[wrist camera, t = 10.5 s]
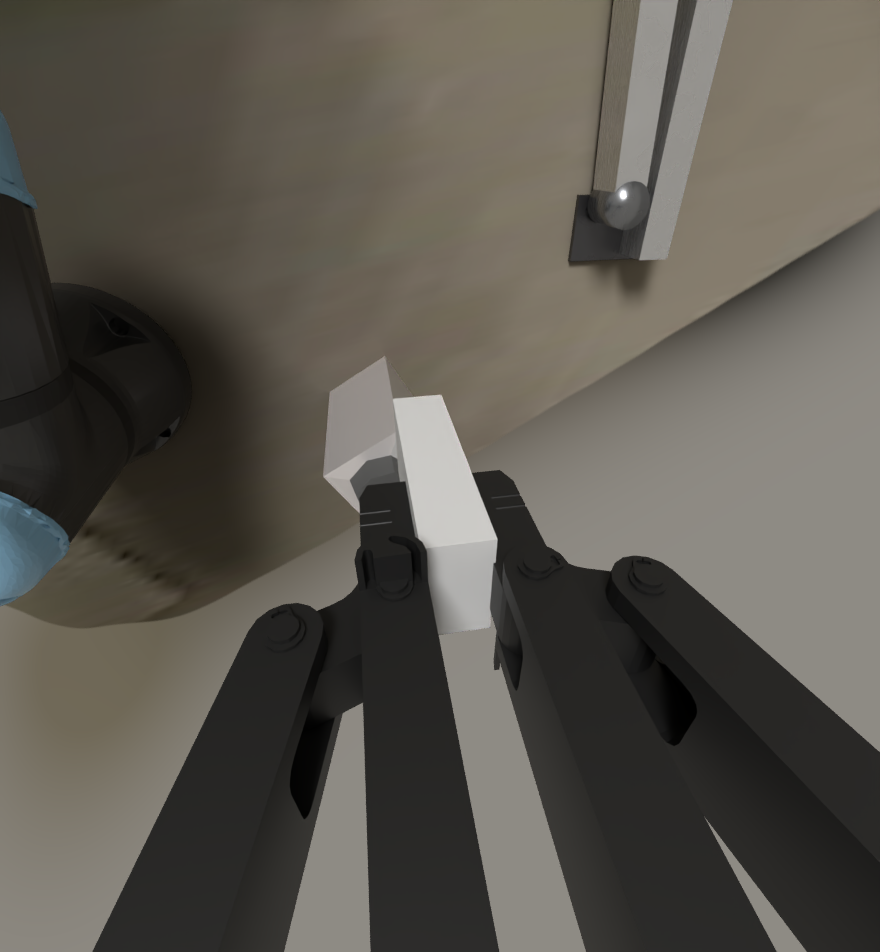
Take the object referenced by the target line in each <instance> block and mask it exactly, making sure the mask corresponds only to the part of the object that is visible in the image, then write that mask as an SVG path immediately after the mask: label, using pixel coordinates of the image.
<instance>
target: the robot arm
mask: <svg viewBox="0 0 880 952" xmlns="http://www.w3.org/2000/svg"><path fill="white" fill-rule="evenodd" d="M33 208H35V209H37V204H36V200H35V199H34V197H33V196H32V195H31V194H30V193H29V192H28V191H27V187H26V184H25V180H24V177H23V174H22V170H21V167H20V163H19V160H18V156H17V153H16V150H15V146H14V143H13V139H12V136H11V133H10V129H9V126H8V124H7V121H6V119H5V117H4V115H3V114H2V112H1V110H0V606H3V605H5V604H8V603H10V602H12V601H14V600H16V599H17V598H18V597H20V596H23V595H24V594H25V593H27V592H28V591H30V590H31V589H32V588H33V587H35V586H36V585H37V584H38V582H39V581H40V580H41V579H42V578H43V577H44V576H45V575H46V574H47V572H48V571H49V570H50V569H51V568H52V567H53V566H54V565H55V564H56V563H57V562H58V561H60V560H61V559H62V558H63V557H64V556H65V555H66V553H67V551H68V550H69V547H68V546H69V545H70V543H71V541H72V540H73V538H74V537H75V535H76V534H77V533H78V531H79V530H80V528H81V527H82V526H83V524H84V523H85V521H86V520H87V519H88V517H89V516H90V514H91V513H92V511H93V510H94V509H95V507H96V506H97V504H98V503H99V502H100V500H101V499H102V497H103V496H104V495H105V493H106V492H107V490H108V489H109V488H110V486H111V485H112V483H113V482H114V480H115V479H116V478H117V476H118V475H119V473H120V472H121V470H122V469H123V468H124V466H125V465H127V464H129V463H131V462H133V461H135V460H137V459H139V458H141V457H143V456H145V455H147V454H149V453H151V452H153V451H155V450H157V449H158V448H160V447H161V446H163V445H164V444H165V443H166V442H168V441H169V440H170V439H171V438H172V437H173V435H174V434H175V433H176V432H177V430H178V429H179V427H180V425H181V424H182V422H183V421H184V419H185V417H186V415H187V413H188V410H189V407H190V403H191V393H192V391H191V381H190V376H189V372H188V369H187V366H186V364H185V362H184V360H183V357H182V356H181V354H180V352H179V350H178V349H177V347H176V346H175V344H174V343H173V342H172V340H171V339H170V338H169V336H168V335H167V334H166V333H165V332H164V331H163V330H162V329H161V328H160V327H159V326H158V325H157V324H156V323H155V322H154V321H153V320H152V319H150V318H149V317H148V316H147V315H145V314H144V313H143V312H141V311H140V310H138V309H137V308H135V307H134V306H132V305H130V304H129V303H127V302H125V301H123V300H121V299H119V298H117V297H115V296H113V295H111V294H108V293H106V292H103V291H100V290H97V289H94V288H90V287H86V286H81V285H76V284H67V283H51V282H50V277H49V273H48V269H47V265H46V260H45V256H44V252H43V248H42V243H41V239H40V235H39V231H38V226H37V222H36V218H35V213H34V209H33ZM393 408H394V421H395V433H396V446H397V459H398V472H399V478H400V482H394V483H384V484H375V485H367V486H366V488H365V490H364V491H363V493H362V495H361V496H360V498H359V505H360V532H361V533H360V535H361V546H360V547H359V549H358V550H357V553H356V557H355V565H356V572H357V578H358V584H357V586H356V587H355V589H354V590H353V591H352V592H351V593H350V594H349V595H347V596H346V597H345V598H344V599H342V600H340V601H338V602H337V603H335V604H333V605H330V606H328V607H325V608H323V609H321V610H318V611H316V610H314V609H313V608H312V607H311V606H308V605H304V604H299V603H293V604H285V605H281V606H279V607H276V608H273V609H271V610H269V611H268V612H266V613H265V614H264V615H262V616H261V617H260V618H258V619H257V620H256V621H255V623H254V624H253V626H252V627H251V629H250V630H249V631H248V633H247V635H246V637H245V639H244V641H243V643H242V645H241V648H240V650H239V652H238V654H237V656H236V658H235V660H234V662H233V664H232V666H231V668H230V670H229V672H228V674H227V676H226V678H225V680H224V682H223V685H222V687H221V689H220V691H219V693H218V695H217V697H216V699H215V701H214V703H213V705H212V707H211V709H210V711H209V713H208V715H207V717H206V719H205V722H204V724H203V726H202V728H201V730H200V732H199V734H198V736H197V738H196V740H195V742H194V744H193V746H192V748H191V750H190V753H189V754H188V757H187V759H186V761H185V763H184V765H183V767H182V769H181V771H180V773H179V775H178V777H177V779H176V781H175V783H174V785H173V787H172V789H171V791H170V794H169V795H168V798H167V800H166V802H165V804H164V806H163V808H162V810H161V812H160V814H159V816H158V818H157V820H156V822H155V824H154V826H153V828H152V830H151V833H150V835H149V837H148V839H147V841H146V843H145V845H144V847H143V849H142V851H141V853H140V855H139V857H138V859H137V861H136V863H135V865H134V867H133V870H132V872H131V874H130V876H129V878H128V880H127V882H126V884H125V886H124V888H123V890H122V892H121V894H120V896H119V898H118V900H117V902H116V905H115V906H114V908H113V911H112V913H111V915H110V917H109V919H108V921H107V923H106V925H105V927H104V929H103V931H102V933H101V935H100V937H99V940H98V941H97V943H96V945H95V948H94V950H93V952H284V949H285V945H286V941H287V937H288V933H289V929H290V924H291V921H292V917H293V912H294V909H295V904H296V900H297V896H298V892H299V888H300V884H301V880H302V876H303V872H304V868H305V864H306V860H307V856H308V852H309V848H310V844H311V840H312V835H313V831H314V827H315V823H316V819H317V815H318V811H319V807H320V803H321V799H322V795H323V791H324V786H325V783H326V779H327V774H328V771H329V766H330V763H331V758H332V754H333V750H334V746H335V742H336V738H337V734H338V730H339V726H340V722H341V718H342V714H343V713H344V712H345V711H347V710H349V709H351V708H353V707H355V706H357V705H359V704H361V703H363V712H364V713H363V714H364V746H365V780H366V813H367V845H368V878H369V912H370V944H371V952H499V948H498V943H497V937H496V932H495V927H494V922H493V917H492V911H491V907H490V901H489V896H488V891H487V886H486V880H485V875H484V870H483V865H482V860H481V855H480V849H479V844H478V839H477V834H476V828H475V823H474V818H473V813H472V808H471V803H470V797H469V792H468V786H467V781H466V776H465V772H464V766H463V760H462V755H461V750H460V745H459V740H458V734H457V729H456V724H455V719H454V714H453V708H452V703H451V698H450V693H449V688H448V682H447V677H446V672H445V667H444V662H443V656H442V651H441V646H440V641H439V635H443V634H450V633H456V632H463V631H470V630H477V629H483V628H490V622H491V614H492V617H493V621H494V623H495V627H496V630H497V634H496V643H495V653H494V670H498V669H499V667H500V663H501V667H502V670H503V674H504V677H505V680H506V684H507V687H508V690H509V694H510V697H511V700H512V704H513V707H514V710H515V714H516V717H517V721H518V724H519V727H520V731H521V734H522V737H523V740H524V744H525V748H526V751H527V754H528V757H529V761H530V764H531V767H532V771H533V774H534V778H535V781H536V784H537V788H538V791H539V795H540V798H541V801H542V805H543V808H544V811H545V815H546V818H547V822H548V825H549V828H550V832H551V835H552V838H553V841H554V845H555V848H556V852H557V855H558V859H559V862H560V865H561V868H562V872H563V875H564V879H565V882H566V885H567V888H568V892H569V896H570V899H571V902H572V906H573V909H574V912H575V916H576V919H577V922H578V925H579V929H580V932H581V936H582V939H583V943H584V946H585V949H586V952H776V950H775V948H774V946H773V944H772V942H771V941H770V938H769V937H768V935H767V933H766V931H765V929H764V928H763V925H762V924H761V922H760V920H759V918H758V916H757V914H756V912H755V911H754V909H753V907H752V905H751V903H750V901H749V899H748V897H747V896H746V894H745V892H744V890H743V888H742V886H741V884H740V883H739V881H738V879H737V877H736V875H735V873H734V871H733V870H732V868H731V866H730V864H729V862H728V860H727V858H726V856H725V855H724V853H723V851H722V849H721V847H720V845H719V844H718V842H717V840H716V838H715V836H714V834H713V832H712V830H711V829H710V827H709V825H708V823H707V821H706V819H707V820H708V822H709V823H710V824H711V826H712V827H713V828H714V830H715V831H716V832H717V834H718V835H719V836H720V838H721V839H722V840H723V842H724V843H725V844H726V846H727V847H728V848H729V850H730V851H731V852H732V853H733V855H734V856H735V857H736V859H737V860H738V861H739V863H740V864H741V865H742V867H743V868H744V869H745V871H746V872H747V873H748V875H749V876H750V877H751V878H752V880H753V881H754V882H755V884H756V885H757V886H758V888H759V889H760V890H761V891H762V893H763V894H764V896H765V897H766V898H767V900H768V901H769V902H770V904H771V905H772V906H773V907H774V909H775V910H776V911H777V913H778V914H779V915H780V917H781V918H782V919H783V920H784V922H785V923H786V925H787V926H788V927H789V928H790V930H791V931H792V933H793V934H794V935H795V936H796V938H797V939H798V940H799V942H800V943H801V944H802V946H803V947H804V948H805V950H806V951H807V952H880V752H879V751H878V750H877V749H875V748H874V747H873V746H872V745H871V744H870V743H869V742H867V741H866V740H865V739H864V738H863V737H862V736H861V735H860V734H858V733H857V732H856V731H855V730H854V729H853V728H852V727H850V726H849V725H848V724H847V723H846V722H845V721H844V720H842V719H841V718H840V717H839V716H838V715H837V714H835V712H833V711H832V710H831V709H830V708H829V707H828V706H826V705H825V704H824V703H823V702H822V701H821V700H820V699H819V698H818V697H816V696H815V695H814V694H813V693H812V692H810V690H808V689H807V688H806V687H805V686H804V685H803V684H802V683H800V682H799V681H798V680H797V679H796V678H795V677H794V676H792V675H791V674H790V673H789V672H788V671H787V670H786V669H785V668H783V667H782V666H781V665H780V664H779V663H778V662H777V661H775V660H774V659H773V658H772V657H771V656H770V655H769V654H768V653H766V652H765V651H764V650H763V649H762V648H761V647H760V646H759V645H757V644H756V643H755V642H754V641H753V640H752V639H751V638H749V637H748V636H747V635H746V634H745V633H744V632H742V631H741V630H740V629H739V628H738V627H737V626H736V625H735V624H733V623H732V622H731V621H730V620H729V619H728V618H727V617H726V616H724V615H723V614H722V613H721V612H720V611H719V610H718V609H717V608H715V607H714V606H713V605H712V604H711V603H710V602H709V601H707V600H706V599H705V598H704V597H703V596H702V595H701V594H699V593H698V592H697V591H696V590H695V589H694V588H693V587H692V586H690V585H689V584H688V583H687V582H686V581H685V580H683V579H682V578H681V577H680V576H679V575H678V574H677V573H676V572H674V571H673V570H672V569H671V568H669V567H668V566H666V565H665V564H663V563H661V562H659V561H657V560H654V559H651V558H649V557H641V556H629V557H623V558H622V559H620V560H619V561H617V562H616V563H615V564H614V566H613V568H612V570H611V571H603V570H595V569H587V568H581V567H577V566H573V565H571V564H568V562H567V561H566V560H565V559H564V557H563V556H562V555H561V554H560V553H558V552H556V551H555V550H553V549H552V548H549V547H547V546H546V544H545V543H544V540H543V538H542V537H541V535H540V533H539V531H538V529H537V527H536V525H535V523H534V521H533V519H532V517H531V515H530V513H529V511H528V509H527V507H525V503H524V501H523V499H522V497H521V496H520V493H519V491H518V490H517V487H516V485H515V484H514V481H513V480H512V479H510V478H509V477H508V476H507V475H505V474H504V473H503V472H502V471H500V470H497V471H487V472H477V473H471V470H470V468H469V465H468V463H467V460H466V457H465V455H464V452H463V450H462V447H461V444H460V442H459V439H458V437H457V434H456V432H455V429H454V426H453V424H452V421H451V419H450V416H449V414H448V411H447V409H446V406H445V403H444V401H443V398H442V396H441V395H433V396H421V397H409V398H396V399H393ZM705 818H706V819H705Z"/></svg>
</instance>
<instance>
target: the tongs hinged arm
mask: <svg viewBox="0 0 880 952" xmlns="http://www.w3.org/2000/svg"><path fill="white" fill-rule="evenodd" d="M677 4H678V0H614V1H613V11H612V20H611V29H610V38H609V47H608V57H607V66H606V75H605V84H604V94H603V103H602V112H601V121H600V130H599V140H598V149H597V158H596V167H595V177H594V186H593V190H592V192H591V194H590V196H589V199H588V205H587V208H588V214H589V216H590V218H591V219H592V220H593V221H594V222H596V223H598V224H602V225H606V226H610V227H613V228H617V229H621V230H629V229H632V228H634V227H635V226H637V225H638V224H639V223H640V222H641V221H642V220H643V219H644V217H645V216H646V214H647V212H648V209H649V205H650V194H649V191H648V189H647V183H648V177H649V171H650V165H651V159H652V153H653V147H654V141H655V135H656V129H657V124H658V118H659V112H660V106H661V100H662V94H663V88H664V82H665V76H666V70H667V64H668V58H669V52H670V46H671V40H672V34H673V28H674V22H675V16H676V10H677Z"/></svg>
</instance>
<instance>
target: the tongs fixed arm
mask: <svg viewBox="0 0 880 952" xmlns="http://www.w3.org/2000/svg"><path fill="white" fill-rule="evenodd" d="M732 2H733V0H678V4H677V10H676V16H675V22H674V28H673V34H672V40H671V46H670V52H669V58H668V64H667V70H666V76H665V82H664V88H663V94H662V100H661V106H660V112H659V118H658V124H657V129H656V135H655V141H654V147H653V153H652V159H651V165H650V171H649V177H648V183H647V189H648V191H649V194H650V205H649V209H648V212H647V214H646V216H645V217H644V219H643V220H642V221H641V222H640V223H639V224H638V225H637V226H635V227H634V228H632V229H629V230H621V229H617V228H613V227H610V226H606V225H602V224H598V223H596V222H594V221H593V220H592V219H591V218H590V216H589V214H588V208H587V205H588V199H589V196H590V195H577V201H576V208H575V215H574V223H573V230H572V237H571V244H570V251H569V258H568V260H569V261H589V260H611V259H633V258H634V259H637V260H658V259H667V256H668V252H669V248H670V245H671V241H672V237H673V233H674V229H675V225H676V221H677V217H678V213H679V209H680V205H681V201H682V198H683V194H684V190H685V186H686V182H687V178H688V174H689V170H690V166H691V162H692V158H693V154H694V151H695V147H696V143H697V139H698V135H699V131H700V127H701V123H702V119H703V115H704V111H705V107H706V104H707V100H708V96H709V92H710V88H711V84H712V80H713V76H714V72H715V68H716V64H717V60H718V57H719V53H720V49H721V45H722V41H723V37H724V33H725V29H726V25H727V21H728V17H729V14H730V10H731V6H732Z"/></svg>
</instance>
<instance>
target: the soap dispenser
mask: <svg viewBox="0 0 880 952" xmlns="http://www.w3.org/2000/svg"><path fill="white" fill-rule="evenodd" d="M409 397H414V396H413V395H412V393H411V392H410V391H409V389H408V388H407V386H406V385H405V384H404V382H403V381H402V379H401V378H400V376H399V375H398V374H397V372H396V371H395V369H394V368H393V367H392V365H391V364H390V362H389V361H388V359H387V358H386V357H385V356H384V357H382V358H381V359H379V360H378V361H376V362H375V363H373V364H372V365H370V366H369V367H367V368H366V369H364V370H363V371H361V372H360V373H358V374H356V375H355V376H353V377H352V378H350V379H349V380H347V381H346V382H344V383H343V384H341V385H340V386H338V387H337V388H335V389H334V390H332V391H331V392H330V397H329V409H328V422H327V435H326V448H325V461H324V474H323V477H324V478H325V479H326V480H327V481H328V482H329V483H330V484H331V485H332V486H333V487H334V488H335V489H336V490H337V491H338V492H339V493H340V494H341V495H342V496H343V497H344V498H345V499H346V500H347V501H348V502H349V503H350V504H351V505H352V506H353V507H354V508H355V509H356V510H357V511H358V512H359V513H360V505H359V498H360V496H361V495H362V493H363V491H364V490H365V488H366V486H367V485H375V484H384V483H394V482H400V478H399V472H398V459H397V446H396V433H395V421H394V408H393V399H396V398H409Z"/></svg>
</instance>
